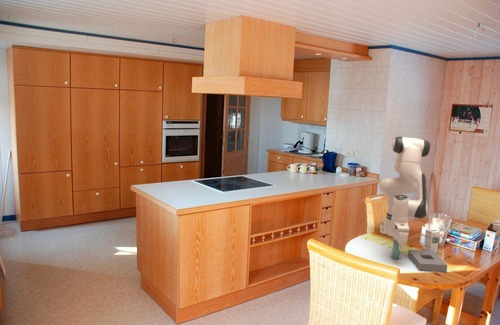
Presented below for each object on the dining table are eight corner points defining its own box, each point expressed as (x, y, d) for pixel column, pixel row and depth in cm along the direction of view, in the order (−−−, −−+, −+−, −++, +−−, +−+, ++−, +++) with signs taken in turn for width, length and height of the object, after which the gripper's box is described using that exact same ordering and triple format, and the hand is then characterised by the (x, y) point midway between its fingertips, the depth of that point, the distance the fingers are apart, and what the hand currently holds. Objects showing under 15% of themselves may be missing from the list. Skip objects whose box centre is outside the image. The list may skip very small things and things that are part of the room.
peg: (391, 256, 227) (392, 240, 226) (398, 256, 227) (399, 240, 225) (393, 259, 223) (394, 242, 222) (400, 259, 223) (401, 242, 221)
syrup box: (430, 256, 229) (432, 232, 227) (423, 252, 235) (425, 229, 233) (438, 255, 231) (440, 231, 229) (431, 251, 237) (433, 228, 234)
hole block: (407, 256, 228) (408, 249, 228) (432, 257, 227) (433, 250, 227) (419, 270, 209) (420, 263, 208) (446, 272, 207) (447, 265, 207)
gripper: (388, 218, 232) (386, 240, 234) (398, 229, 212) (396, 253, 214) (399, 218, 232) (397, 241, 234) (410, 229, 212) (408, 254, 214)
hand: (397, 247), depth 224 cm, fingers open, 8 cm apart
